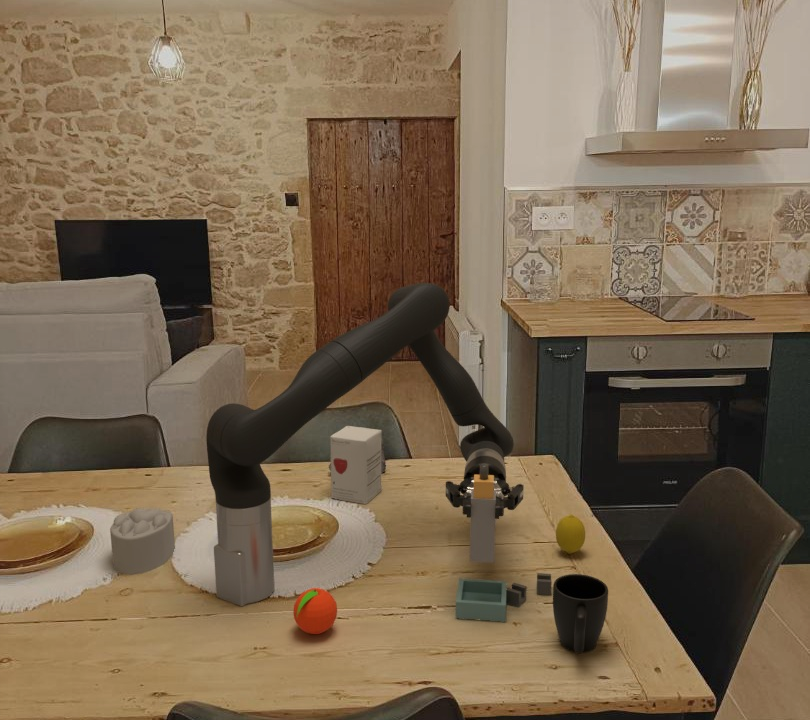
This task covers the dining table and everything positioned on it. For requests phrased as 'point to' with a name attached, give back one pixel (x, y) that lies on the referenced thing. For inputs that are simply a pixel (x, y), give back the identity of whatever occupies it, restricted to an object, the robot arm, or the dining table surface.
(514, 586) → the cable clips
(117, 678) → the dining table surface
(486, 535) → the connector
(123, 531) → the lumpy-topped squat cylinder
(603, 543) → the dining table surface
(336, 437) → the supplement box
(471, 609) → the box
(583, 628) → the mug
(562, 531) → the lemon
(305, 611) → the clementine
